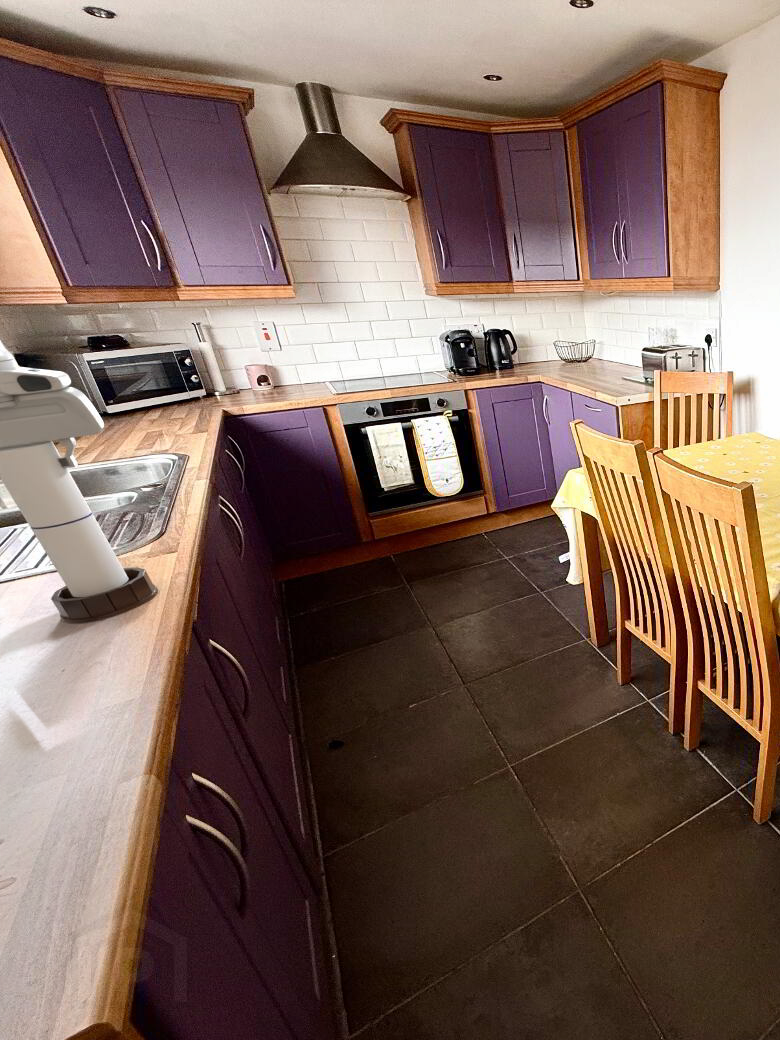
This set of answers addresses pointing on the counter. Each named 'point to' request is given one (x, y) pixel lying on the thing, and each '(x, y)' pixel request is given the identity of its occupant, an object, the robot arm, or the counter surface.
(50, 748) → the counter surface
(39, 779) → the counter surface
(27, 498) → the cylindrical container
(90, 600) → the ring
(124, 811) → the counter surface
